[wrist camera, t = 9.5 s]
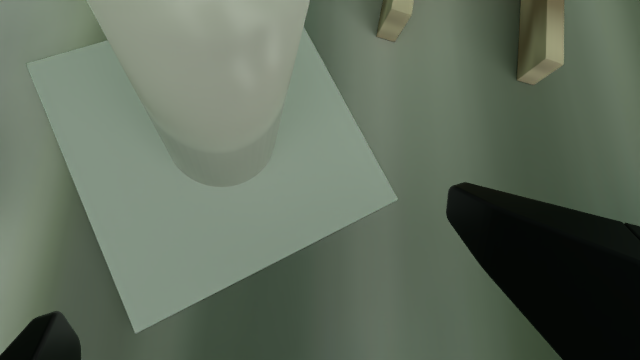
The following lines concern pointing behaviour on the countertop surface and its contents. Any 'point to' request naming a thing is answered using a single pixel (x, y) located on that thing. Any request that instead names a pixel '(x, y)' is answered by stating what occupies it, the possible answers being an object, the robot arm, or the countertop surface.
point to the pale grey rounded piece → (209, 76)
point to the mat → (199, 199)
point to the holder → (534, 34)
